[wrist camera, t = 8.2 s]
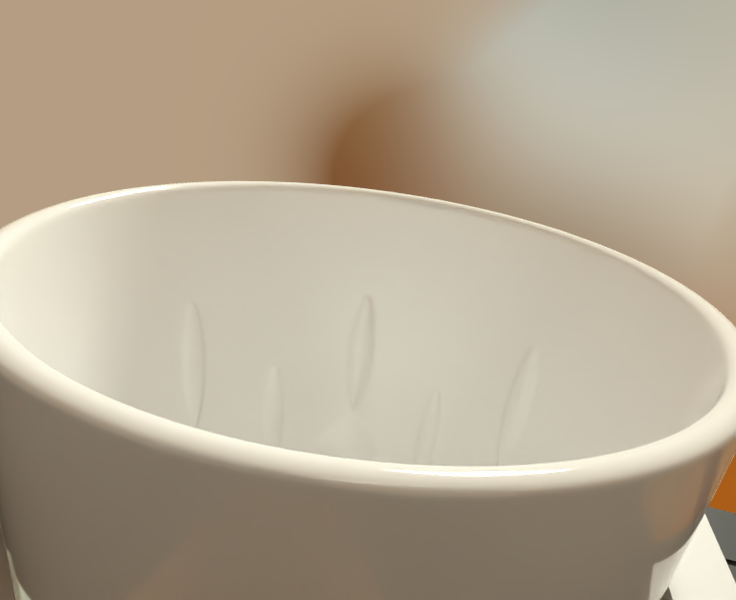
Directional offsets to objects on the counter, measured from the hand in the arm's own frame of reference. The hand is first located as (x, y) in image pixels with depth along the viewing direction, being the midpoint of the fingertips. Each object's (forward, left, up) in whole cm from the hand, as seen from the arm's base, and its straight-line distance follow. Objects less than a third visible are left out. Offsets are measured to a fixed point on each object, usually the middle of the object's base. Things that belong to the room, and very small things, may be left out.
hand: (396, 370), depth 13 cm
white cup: (0, +5, -6) cm, 8 cm away
